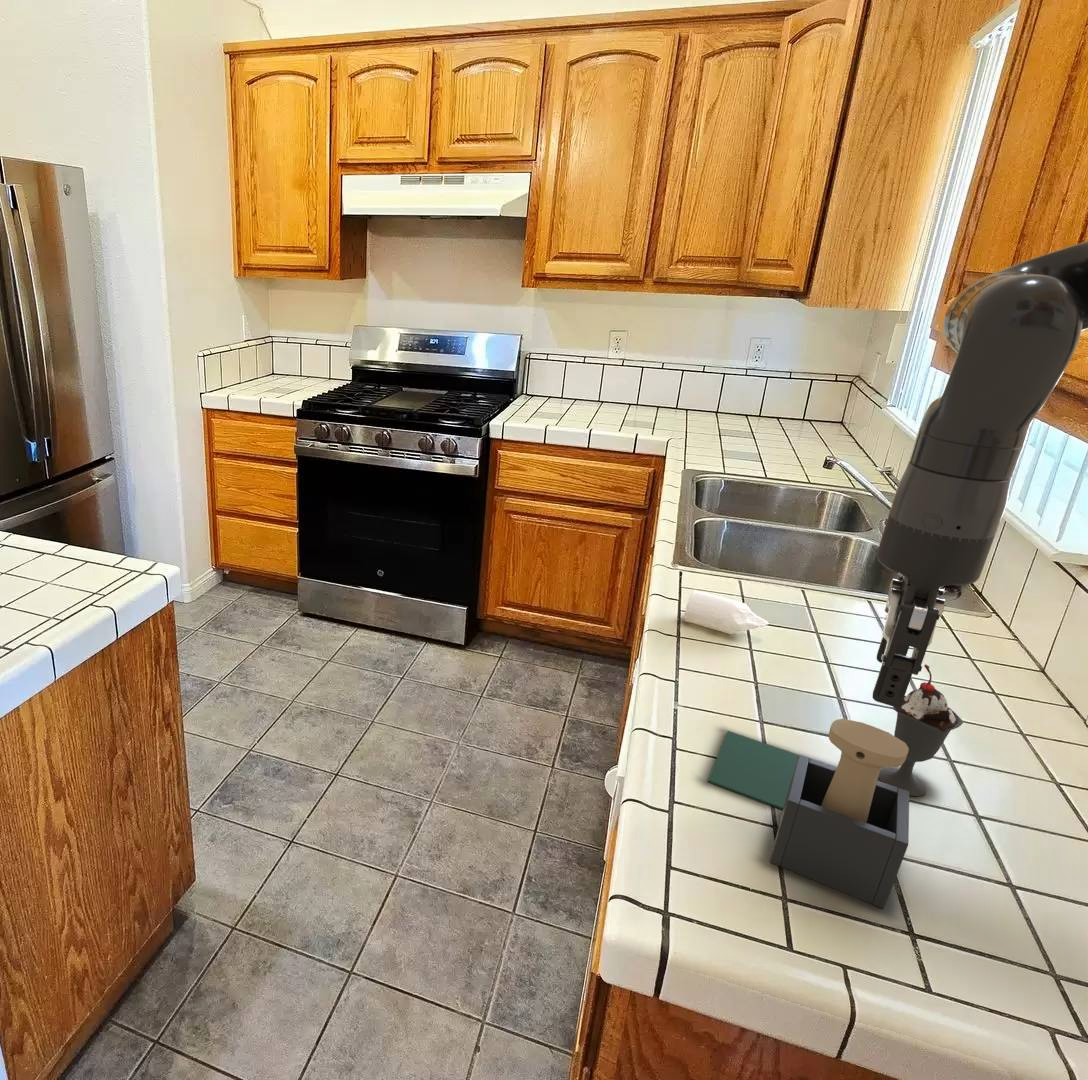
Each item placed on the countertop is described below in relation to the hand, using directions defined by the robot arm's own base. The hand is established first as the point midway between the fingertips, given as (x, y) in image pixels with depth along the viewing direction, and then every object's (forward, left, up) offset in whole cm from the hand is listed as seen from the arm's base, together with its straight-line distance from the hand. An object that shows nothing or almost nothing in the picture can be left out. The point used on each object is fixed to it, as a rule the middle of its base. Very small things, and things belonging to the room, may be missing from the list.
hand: (887, 681), depth 71 cm
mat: (+6, -11, -21) cm, 25 cm away
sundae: (-6, -19, -21) cm, 29 cm away
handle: (0, 0, -21) cm, 21 cm away
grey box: (0, 0, -21) cm, 21 cm away
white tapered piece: (+19, -47, -21) cm, 55 cm away
